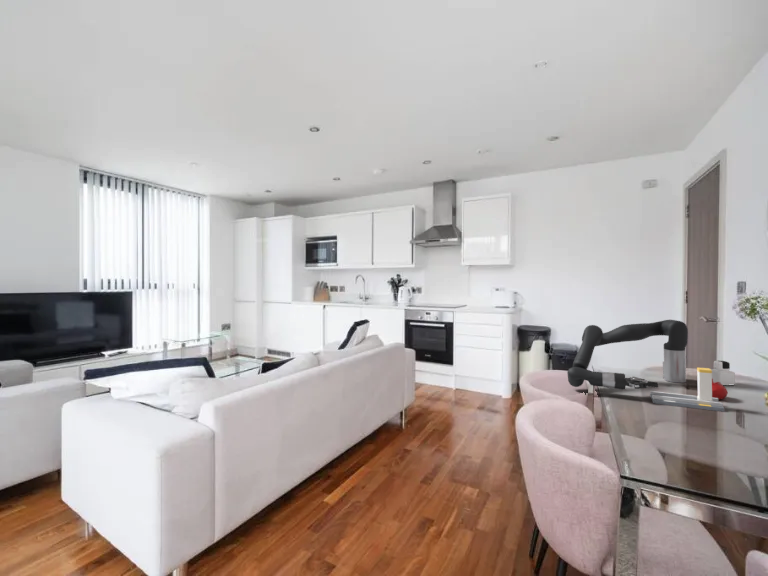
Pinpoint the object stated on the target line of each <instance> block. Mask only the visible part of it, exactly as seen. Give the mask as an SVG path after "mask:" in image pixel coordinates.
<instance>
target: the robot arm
mask: <svg viewBox="0 0 768 576" xmlns="http://www.w3.org/2000/svg"><path fill="white" fill-rule="evenodd" d="M688 329H689V328H688V326H687V324H686V323H685V322H683V321H681V320H676V319H664V320H659V321H656V322H649V323H647V322H646V323H644V322H643V323H630V324H624V325H621V326H618V327H615V328H614V329H612V330H610V331H609V330H608V331H607V332H604V331H603V330H602V328H601V327H600V326H598V325H595V324H589V325H587V326H586V327H585V328H584V330H583V334H582V337H581V342H582V343H581V345H580V346H579V349H578V351H577V352H576V355H575V357H574V360H573V361H572V362H573V363H572V367H570V368H568V370H567V372H566V373H567V379H568V380H567V381H568V383H569V385H570V386H572V387H575V388H577V387H581V386H582V385H583V384H584V382H585V381H587V382H588V383H589V385H590V386H593V387H603V388H607V389H613V390H614V389H615V390H617V389H618V390H626V386H627V387H629V388H633V389H635V390H639V389H640V390H641V389H647V388H648V387H649V388H658V387H659V383H658V382H657V381H650V380H649V381H648V380H646V379H645V378H640V377H636V376H632V377H631V376H629V377H626V374H625V373H621V372H620V373H619V372H610V371H609V372H607V371H605V372H602V371H594V370H593V371H592V370H589V369H588V367H589V365H590V363H591V360H592V356H593V354H594V349H595V348H596V347H600V346H604V345H605V346H606V345H609V344H616V343H624V342H625V343H626V342H635V341H642V340H645V339H647V338H650V337H653V336H654V337H655V336H657V337H658V336H666V337H668V341H667V342H665V343H664V344H663V361H662V379H664V380H665V381H667V382H670V383H677V384H678V383H680V384H684V383H687V378H686V377H687V372H686V371H687V363H686V348H687V346H688V339H689V338H688V337H689V336H688V334H689V333H688Z"/></svg>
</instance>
